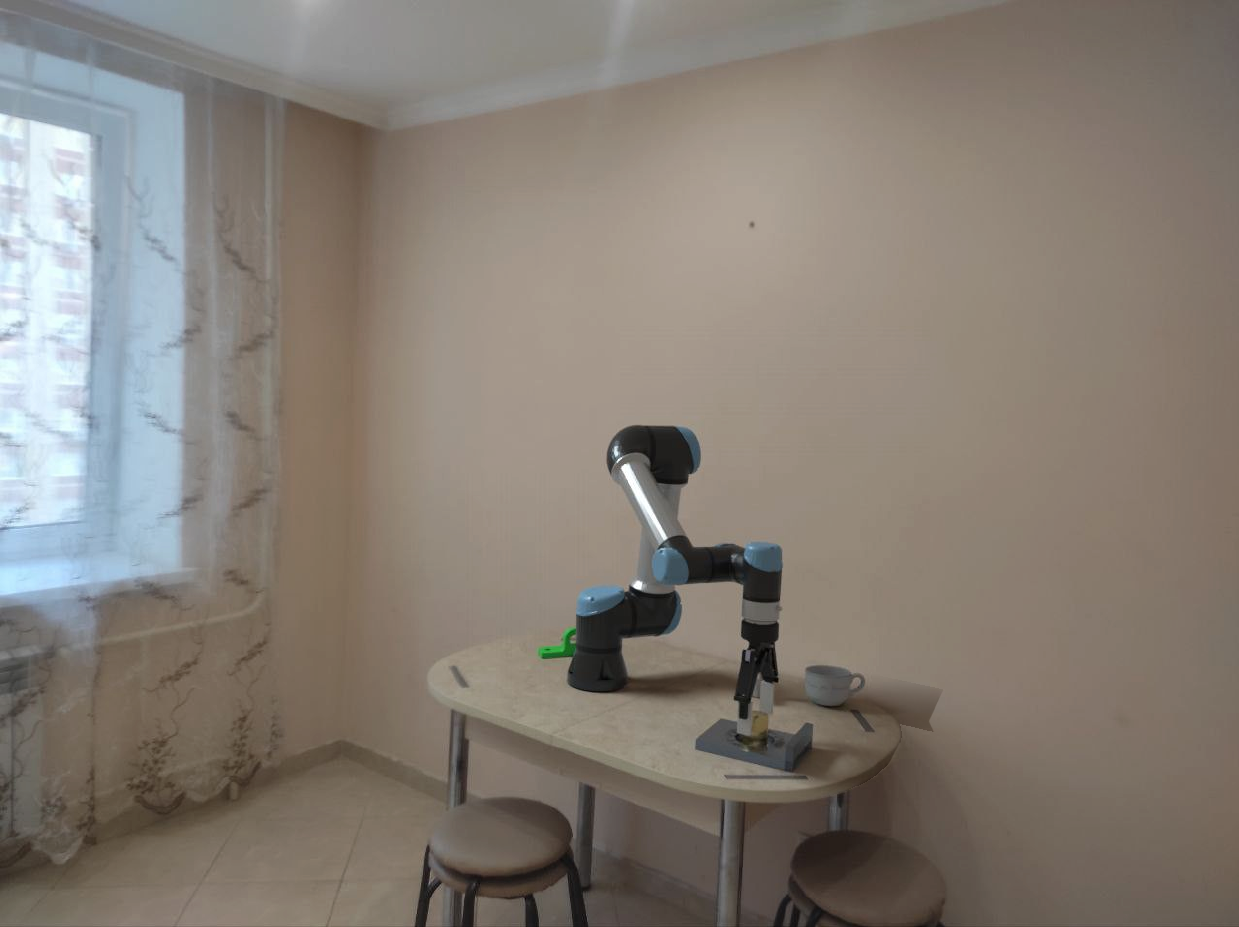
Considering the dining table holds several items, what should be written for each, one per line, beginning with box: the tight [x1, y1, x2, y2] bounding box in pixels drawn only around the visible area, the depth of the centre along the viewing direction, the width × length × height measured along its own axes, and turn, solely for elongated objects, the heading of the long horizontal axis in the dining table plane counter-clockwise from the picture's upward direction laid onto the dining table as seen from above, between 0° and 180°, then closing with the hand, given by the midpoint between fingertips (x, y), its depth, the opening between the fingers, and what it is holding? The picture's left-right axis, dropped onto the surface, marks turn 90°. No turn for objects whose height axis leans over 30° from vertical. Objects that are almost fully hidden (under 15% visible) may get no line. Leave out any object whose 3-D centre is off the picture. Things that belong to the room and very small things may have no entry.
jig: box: [694, 717, 814, 773], centre depth 169 cm, size 20×14×5 cm
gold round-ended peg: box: [741, 709, 770, 747], centre depth 168 cm, size 5×5×7 cm
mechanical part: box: [537, 626, 576, 660], centre depth 228 cm, size 12×6×8 cm, turn 113°
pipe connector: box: [736, 669, 780, 699], centre depth 200 cm, size 10×10×10 cm
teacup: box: [804, 664, 866, 707], centre depth 198 cm, size 14×11×8 cm
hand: (755, 723), depth 168 cm, fingers open, 13 cm apart
